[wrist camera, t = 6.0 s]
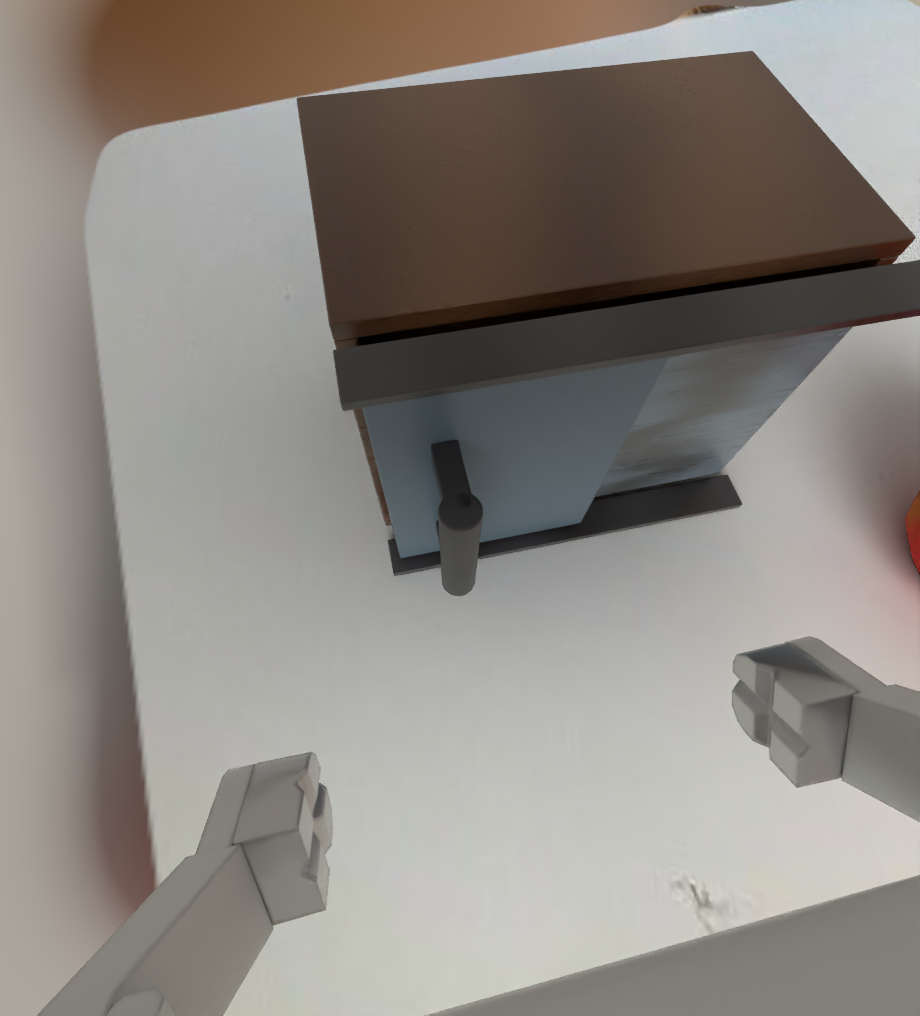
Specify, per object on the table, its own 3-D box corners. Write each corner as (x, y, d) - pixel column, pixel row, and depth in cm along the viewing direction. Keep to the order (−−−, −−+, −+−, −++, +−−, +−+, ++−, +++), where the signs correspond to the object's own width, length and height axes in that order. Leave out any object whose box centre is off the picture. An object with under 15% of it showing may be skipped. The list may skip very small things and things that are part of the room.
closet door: (411, 623, 21) (376, 503, 11) (398, 545, 22) (356, 380, 13) (601, 583, 22) (722, 439, 12) (577, 511, 23) (666, 330, 14)
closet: (394, 576, 22) (340, 403, 12) (357, 356, 28) (296, 96, 17) (739, 507, 24) (972, 299, 13) (642, 312, 29) (753, 50, 19)
